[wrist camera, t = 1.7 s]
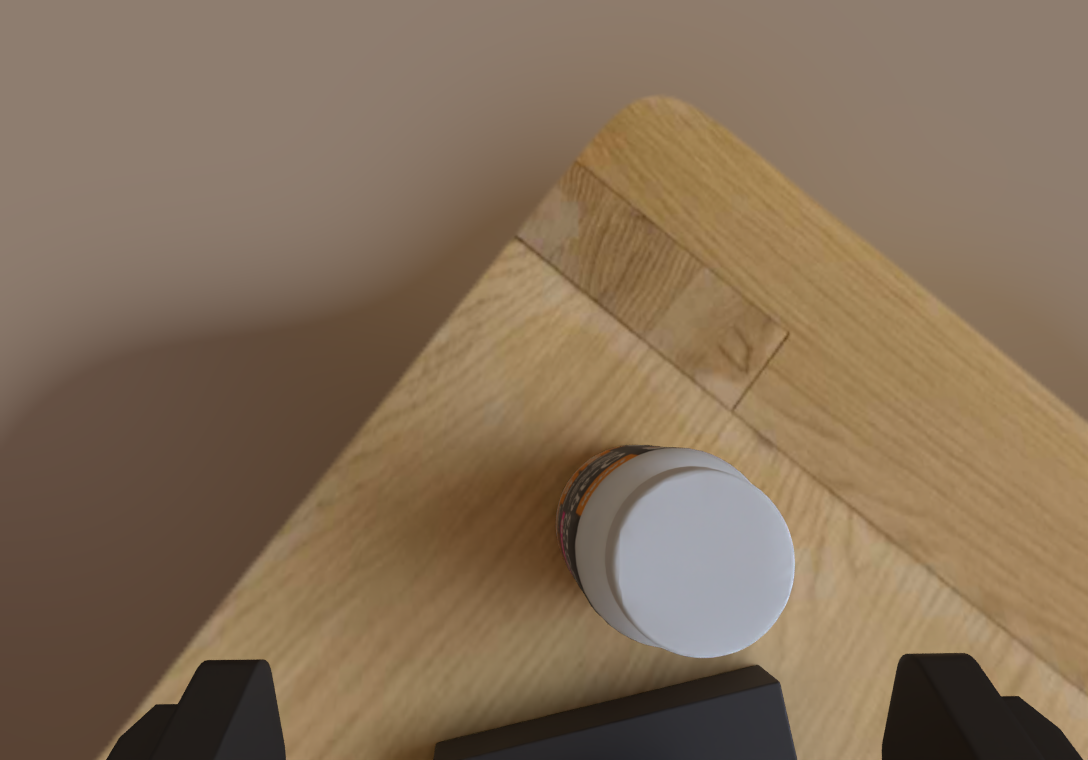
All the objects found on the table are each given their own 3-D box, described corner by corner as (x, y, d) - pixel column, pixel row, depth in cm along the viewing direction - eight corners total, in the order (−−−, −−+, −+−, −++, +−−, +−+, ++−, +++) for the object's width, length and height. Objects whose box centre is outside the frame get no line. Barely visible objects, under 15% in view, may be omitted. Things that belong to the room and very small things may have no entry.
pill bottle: (567, 433, 30) (609, 427, 20) (718, 459, 31) (831, 466, 21) (541, 588, 30) (571, 660, 20) (696, 613, 30) (800, 696, 20)
